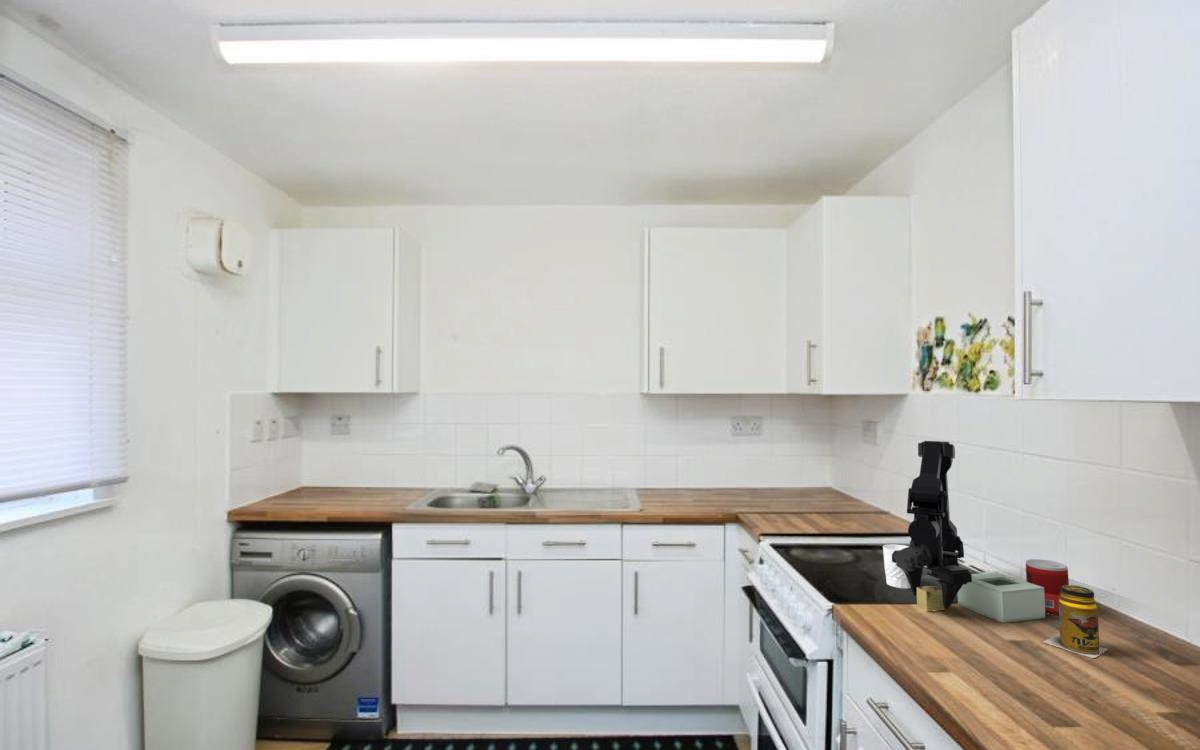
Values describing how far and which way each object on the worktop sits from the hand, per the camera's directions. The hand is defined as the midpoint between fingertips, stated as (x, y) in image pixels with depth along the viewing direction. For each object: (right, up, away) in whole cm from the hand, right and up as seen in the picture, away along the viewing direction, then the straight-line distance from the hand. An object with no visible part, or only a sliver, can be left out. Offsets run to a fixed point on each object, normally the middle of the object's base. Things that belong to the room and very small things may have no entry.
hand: (930, 601), depth 133 cm
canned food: (+28, -2, -1) cm, 28 cm away
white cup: (+2, -3, +18) cm, 18 cm away
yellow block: (0, -2, 0) cm, 2 cm away
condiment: (+17, -1, -21) cm, 27 cm away
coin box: (+16, -2, -2) cm, 16 cm away
